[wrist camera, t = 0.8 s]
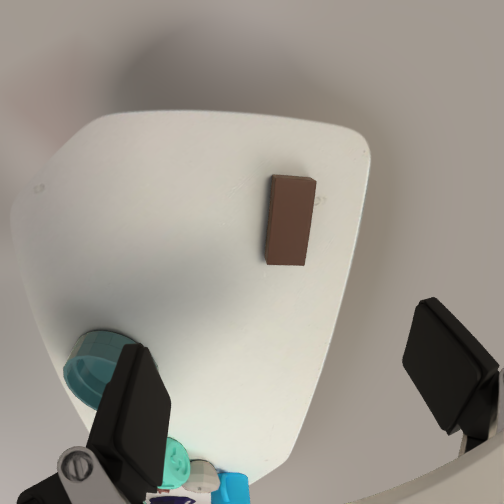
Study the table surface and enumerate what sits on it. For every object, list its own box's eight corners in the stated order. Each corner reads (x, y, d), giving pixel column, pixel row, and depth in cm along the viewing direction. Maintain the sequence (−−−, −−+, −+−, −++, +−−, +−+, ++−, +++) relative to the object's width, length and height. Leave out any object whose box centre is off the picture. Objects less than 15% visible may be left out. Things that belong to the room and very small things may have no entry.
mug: (250, 482, 52) (253, 511, 44) (215, 485, 52) (216, 513, 44) (241, 464, 47) (244, 498, 39) (201, 467, 47) (201, 500, 39)
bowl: (61, 346, 32) (47, 371, 27) (115, 313, 30) (102, 342, 25) (119, 398, 36) (111, 424, 32) (177, 376, 35) (173, 406, 30)
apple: (205, 452, 44) (205, 482, 38) (227, 466, 47) (229, 493, 41) (171, 459, 45) (169, 486, 39) (195, 472, 48) (194, 498, 42)
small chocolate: (272, 174, 25) (275, 177, 24) (311, 177, 26) (317, 181, 24) (264, 256, 29) (266, 264, 27) (300, 257, 29) (304, 265, 27)
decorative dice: (156, 455, 44) (152, 489, 37) (130, 436, 41) (124, 473, 33) (191, 452, 43) (190, 488, 36) (168, 432, 40) (163, 472, 33)
